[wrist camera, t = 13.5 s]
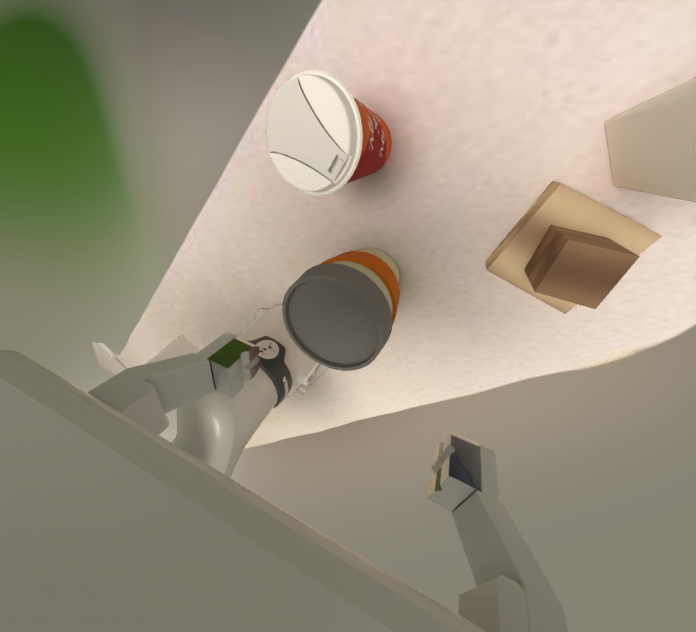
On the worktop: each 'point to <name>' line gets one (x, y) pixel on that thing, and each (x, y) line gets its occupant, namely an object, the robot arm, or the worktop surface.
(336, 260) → the reusable coffee cup
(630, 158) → the milk
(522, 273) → the oak plinth
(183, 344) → the grater
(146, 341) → the worktop surface
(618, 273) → the walnut cube
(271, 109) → the coffee cup
